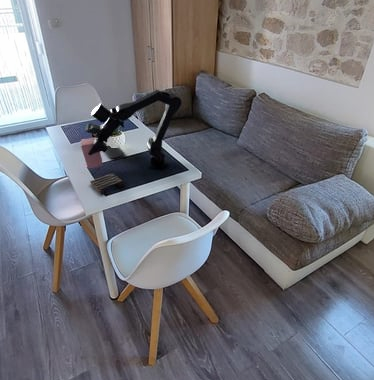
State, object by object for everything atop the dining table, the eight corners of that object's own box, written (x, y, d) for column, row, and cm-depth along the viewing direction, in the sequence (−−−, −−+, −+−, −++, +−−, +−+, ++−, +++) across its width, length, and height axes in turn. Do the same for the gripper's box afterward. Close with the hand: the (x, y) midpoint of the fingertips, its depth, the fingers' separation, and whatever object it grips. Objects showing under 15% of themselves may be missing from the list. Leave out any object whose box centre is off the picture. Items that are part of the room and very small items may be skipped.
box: (102, 159, 157) (95, 137, 149) (102, 166, 152) (96, 142, 144) (88, 162, 156) (81, 139, 148) (88, 168, 151) (80, 145, 143)
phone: (110, 157, 169) (102, 146, 180) (111, 159, 170) (102, 148, 180) (124, 154, 173) (115, 143, 183) (124, 156, 173) (115, 145, 184)
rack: (112, 177, 155) (112, 172, 153) (123, 186, 148) (122, 180, 147) (90, 186, 148) (89, 180, 146) (100, 195, 142) (99, 190, 140)
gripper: (93, 110, 149) (74, 134, 152) (95, 125, 134) (74, 151, 137) (112, 124, 155) (93, 146, 159) (116, 139, 140) (94, 164, 144)
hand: (88, 151), depth 149 cm, fingers closed on box, 6 cm apart
